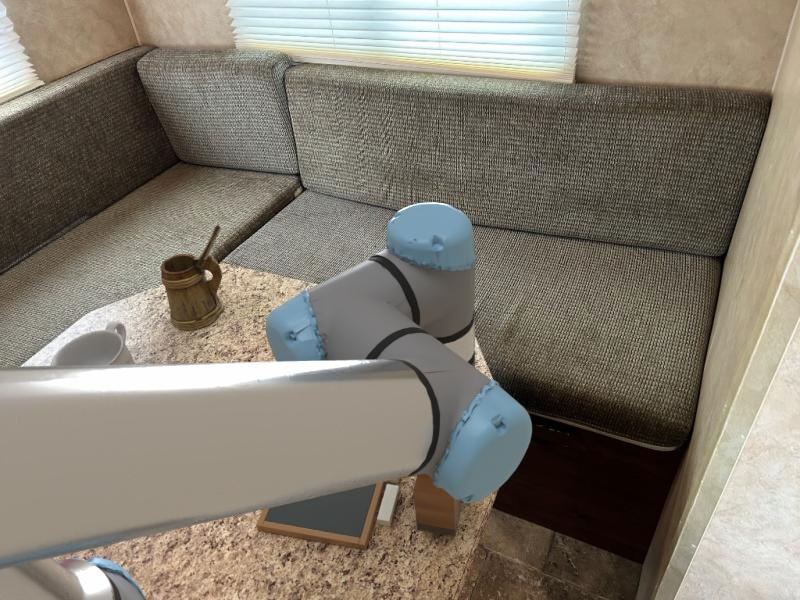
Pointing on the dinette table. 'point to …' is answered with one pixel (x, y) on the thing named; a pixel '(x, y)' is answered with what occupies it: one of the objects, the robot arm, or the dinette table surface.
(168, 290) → the wooden mug
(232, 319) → the dinette table surface
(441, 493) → the eraser
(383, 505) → the white rectangular bar
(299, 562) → the dinette table surface
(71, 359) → the teacup
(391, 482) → the white chalk stick
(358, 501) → the chalkboard
